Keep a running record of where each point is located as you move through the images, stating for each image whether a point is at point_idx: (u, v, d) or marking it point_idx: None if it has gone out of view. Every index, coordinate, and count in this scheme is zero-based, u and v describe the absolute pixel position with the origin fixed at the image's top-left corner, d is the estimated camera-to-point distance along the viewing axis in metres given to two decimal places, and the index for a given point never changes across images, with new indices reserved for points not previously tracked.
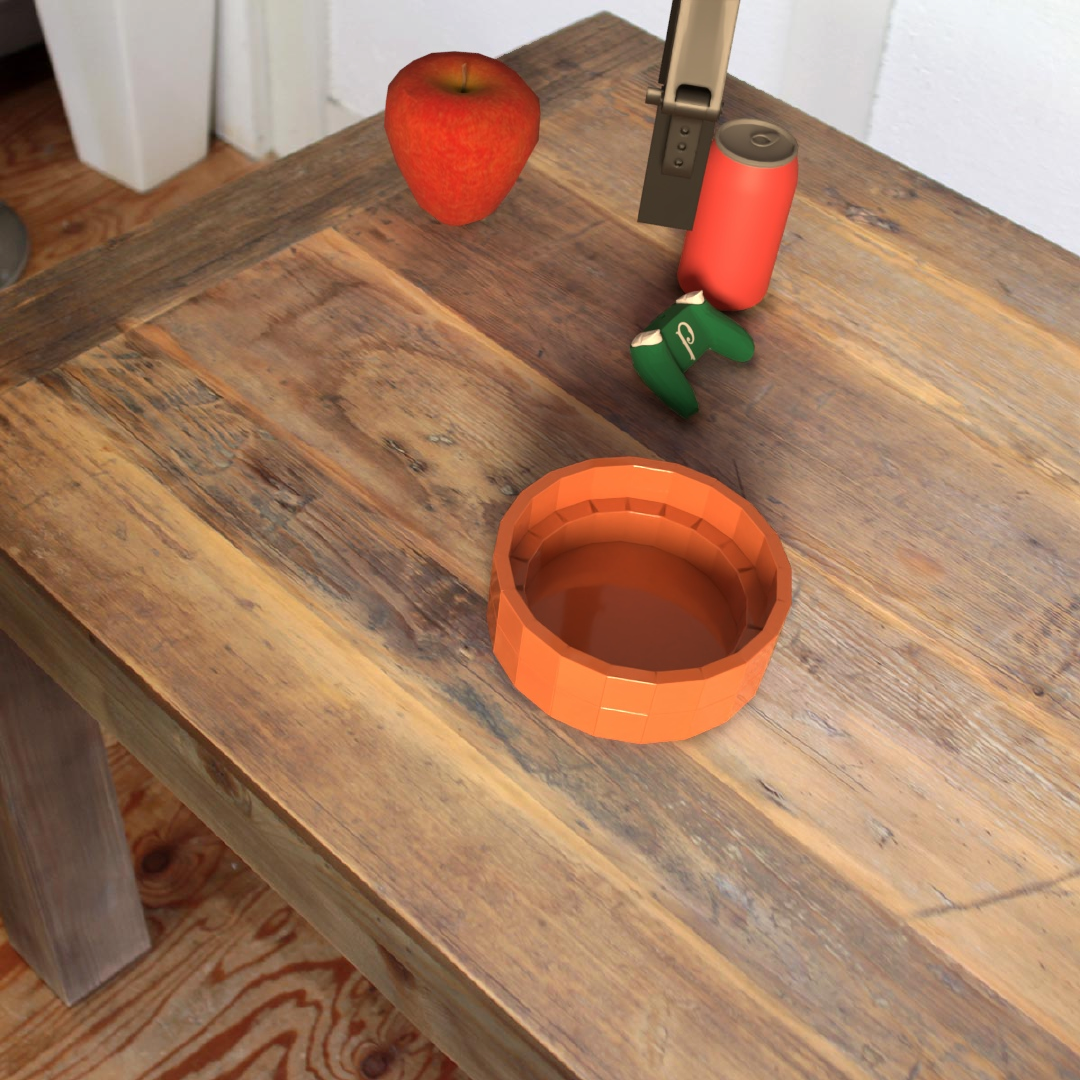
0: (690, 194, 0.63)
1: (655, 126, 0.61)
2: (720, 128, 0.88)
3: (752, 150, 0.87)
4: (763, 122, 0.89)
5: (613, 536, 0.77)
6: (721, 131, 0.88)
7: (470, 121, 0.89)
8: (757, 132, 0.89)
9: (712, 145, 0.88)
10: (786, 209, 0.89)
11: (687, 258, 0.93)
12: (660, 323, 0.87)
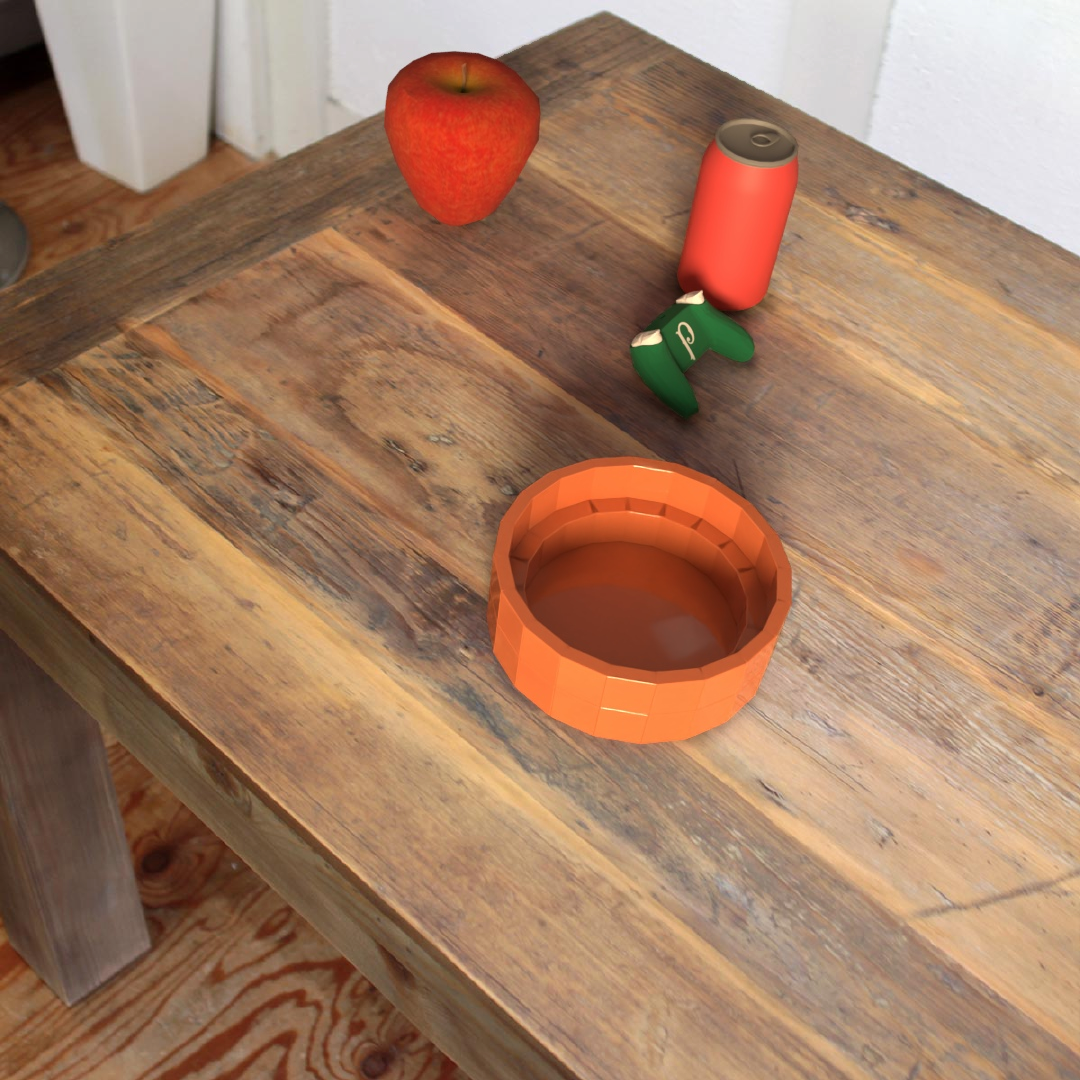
0: None
1: None
2: (720, 128, 0.88)
3: (752, 150, 0.87)
4: (763, 122, 0.89)
5: (613, 536, 0.77)
6: (721, 131, 0.88)
7: (470, 121, 0.89)
8: (757, 132, 0.89)
9: (712, 145, 0.88)
10: (786, 209, 0.89)
11: (687, 258, 0.93)
12: (659, 323, 0.87)
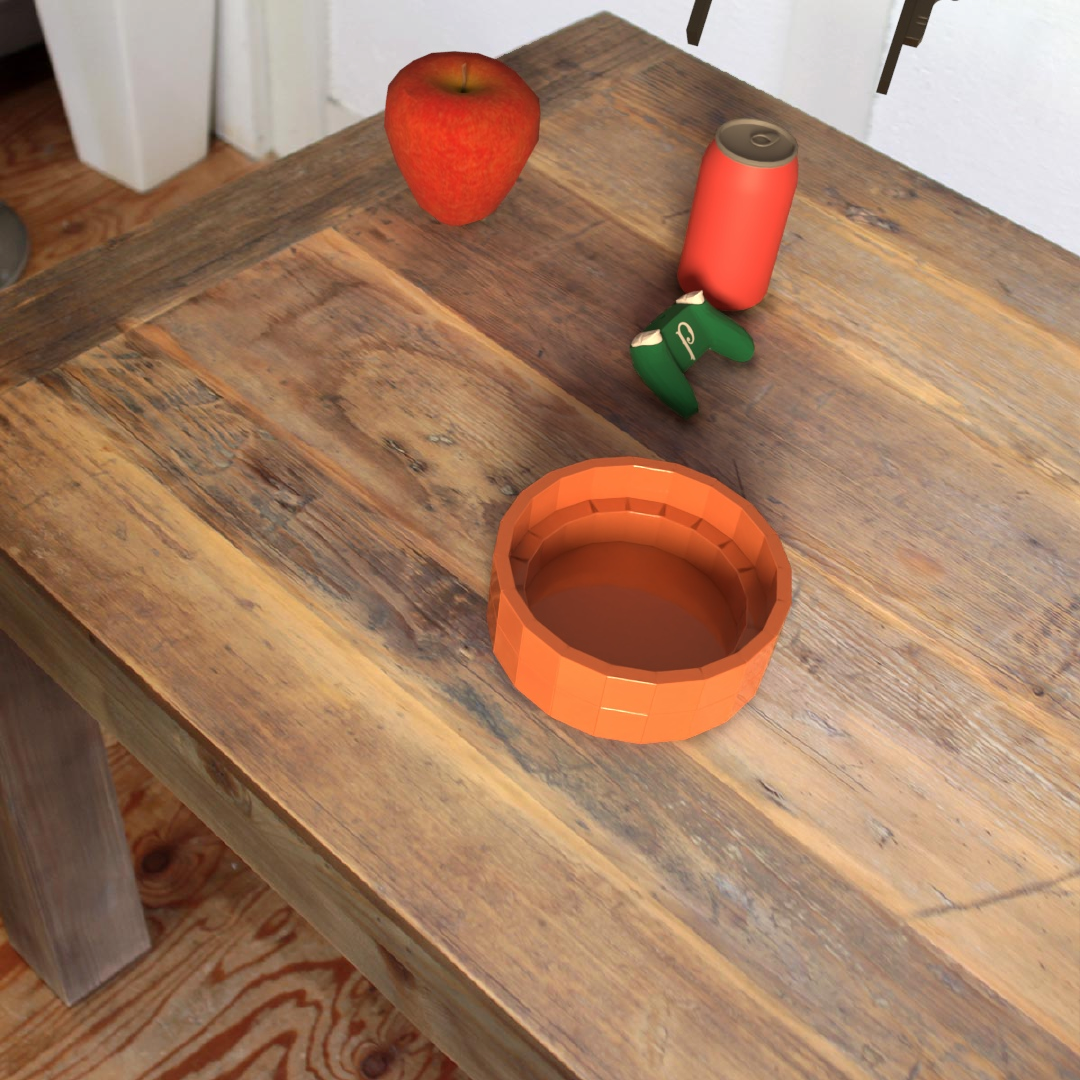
0: None
1: None
2: (720, 128, 0.88)
3: (752, 150, 0.87)
4: (763, 122, 0.89)
5: (613, 536, 0.77)
6: (721, 131, 0.88)
7: (470, 121, 0.89)
8: (757, 132, 0.89)
9: (712, 145, 0.88)
10: (786, 209, 0.89)
11: (687, 258, 0.93)
12: (660, 323, 0.87)
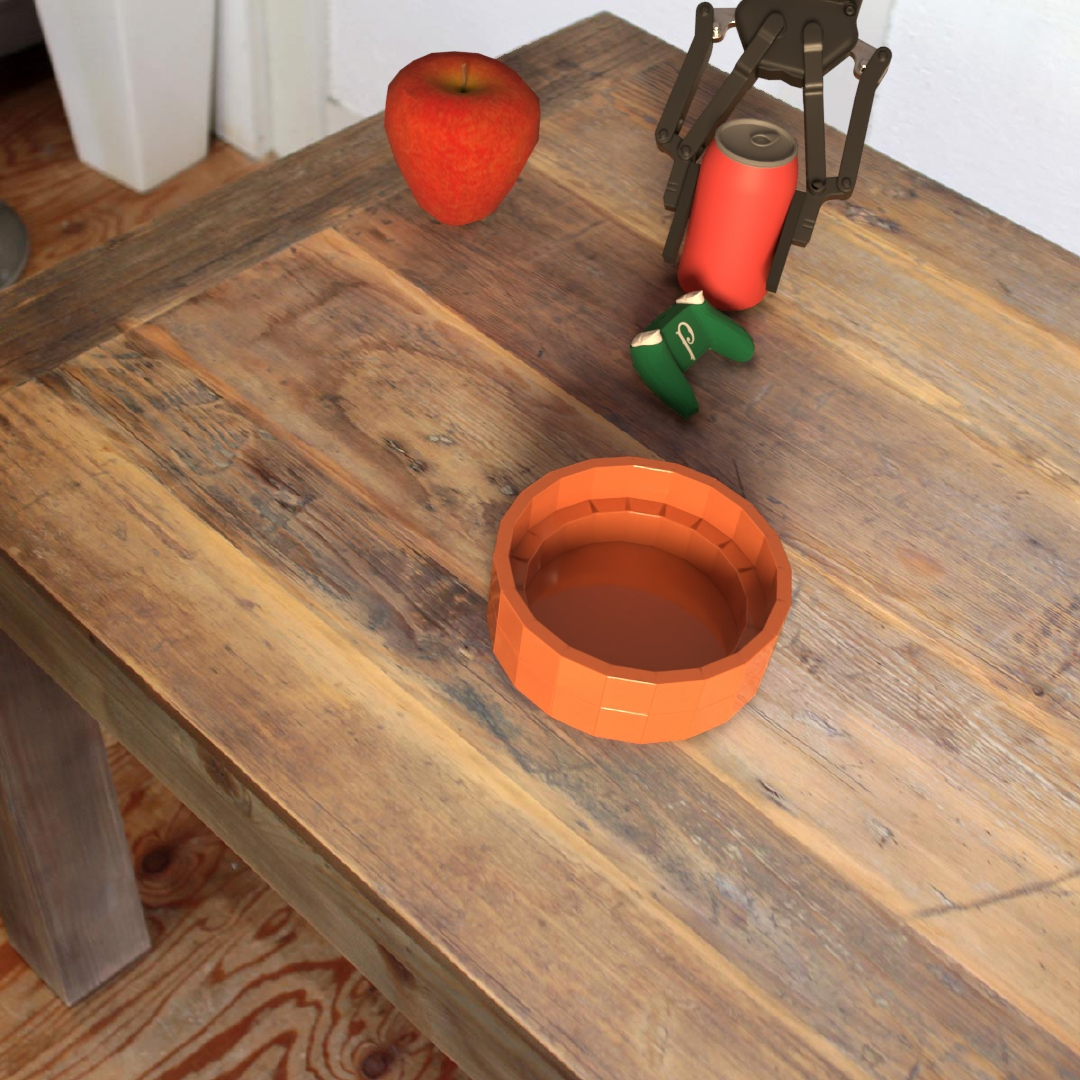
0: None
1: None
2: (719, 128, 0.88)
3: (752, 149, 0.87)
4: (763, 122, 0.89)
5: (613, 536, 0.77)
6: (720, 131, 0.88)
7: (470, 121, 0.89)
8: (757, 132, 0.89)
9: (712, 145, 0.88)
10: (786, 209, 0.89)
11: (687, 258, 0.93)
12: (660, 323, 0.87)
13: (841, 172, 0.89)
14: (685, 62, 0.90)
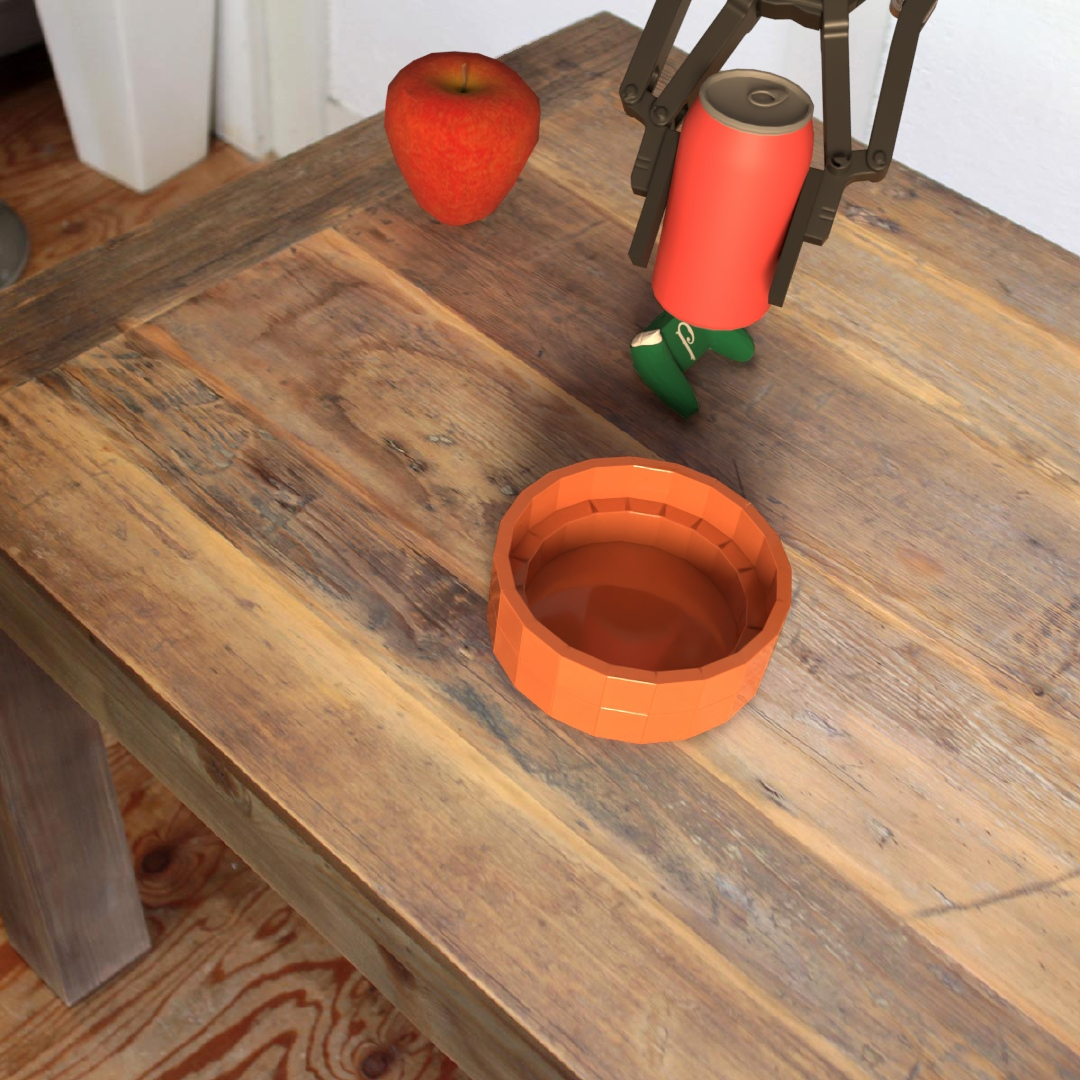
0: None
1: None
2: (706, 82, 0.64)
3: (750, 110, 0.63)
4: (765, 75, 0.65)
5: (613, 536, 0.77)
6: (707, 85, 0.64)
7: (470, 121, 0.89)
8: (758, 88, 0.65)
9: (696, 105, 0.64)
10: (797, 193, 0.65)
11: (664, 259, 0.69)
12: (660, 323, 0.87)
13: (872, 143, 0.65)
14: None
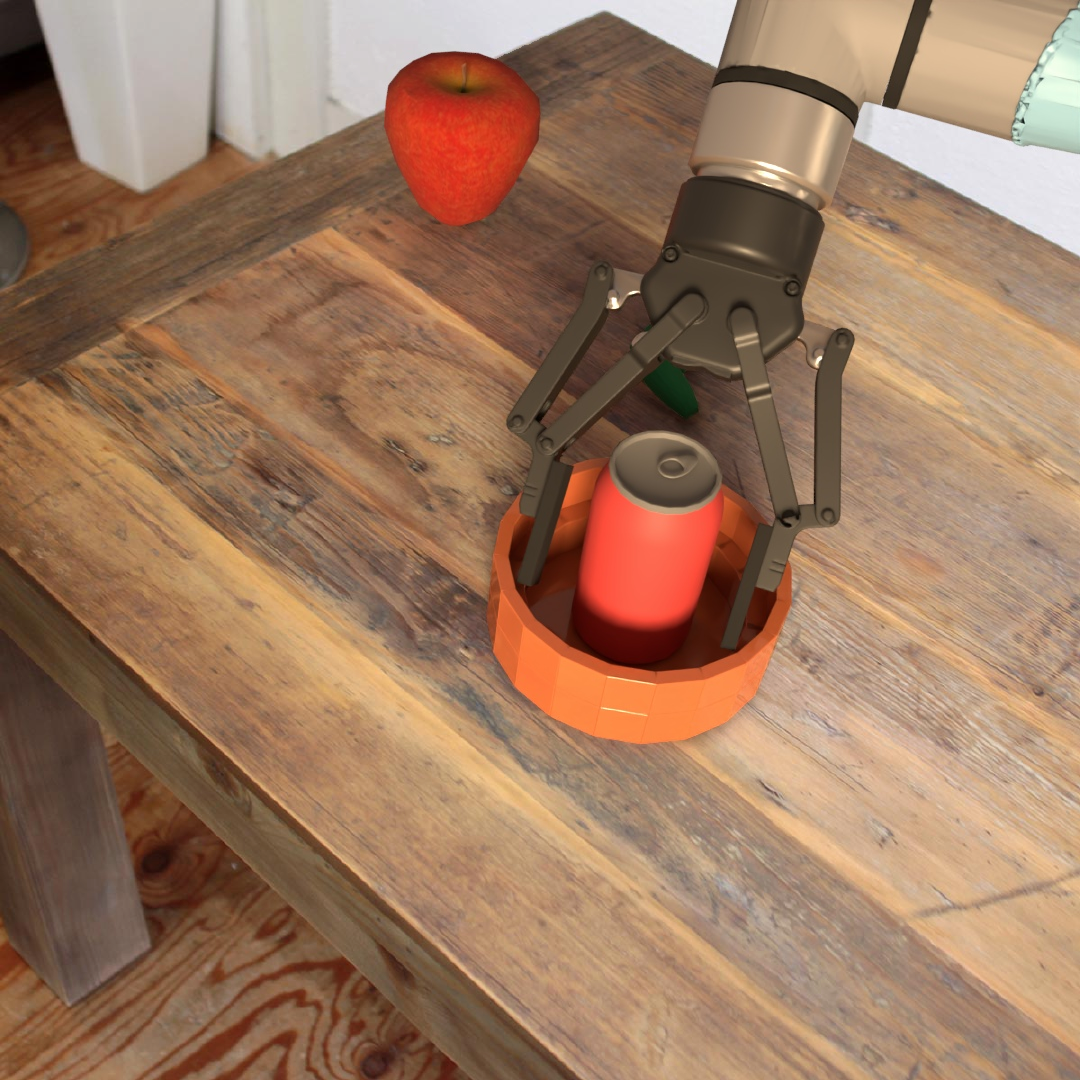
0: None
1: None
2: (616, 451, 0.65)
3: (659, 483, 0.64)
4: (676, 436, 0.66)
5: None
6: (618, 453, 0.65)
7: (470, 121, 0.89)
8: (668, 452, 0.66)
9: (606, 473, 0.65)
10: (707, 553, 0.66)
11: (581, 598, 0.70)
12: None
13: (818, 502, 0.66)
14: (563, 334, 0.68)
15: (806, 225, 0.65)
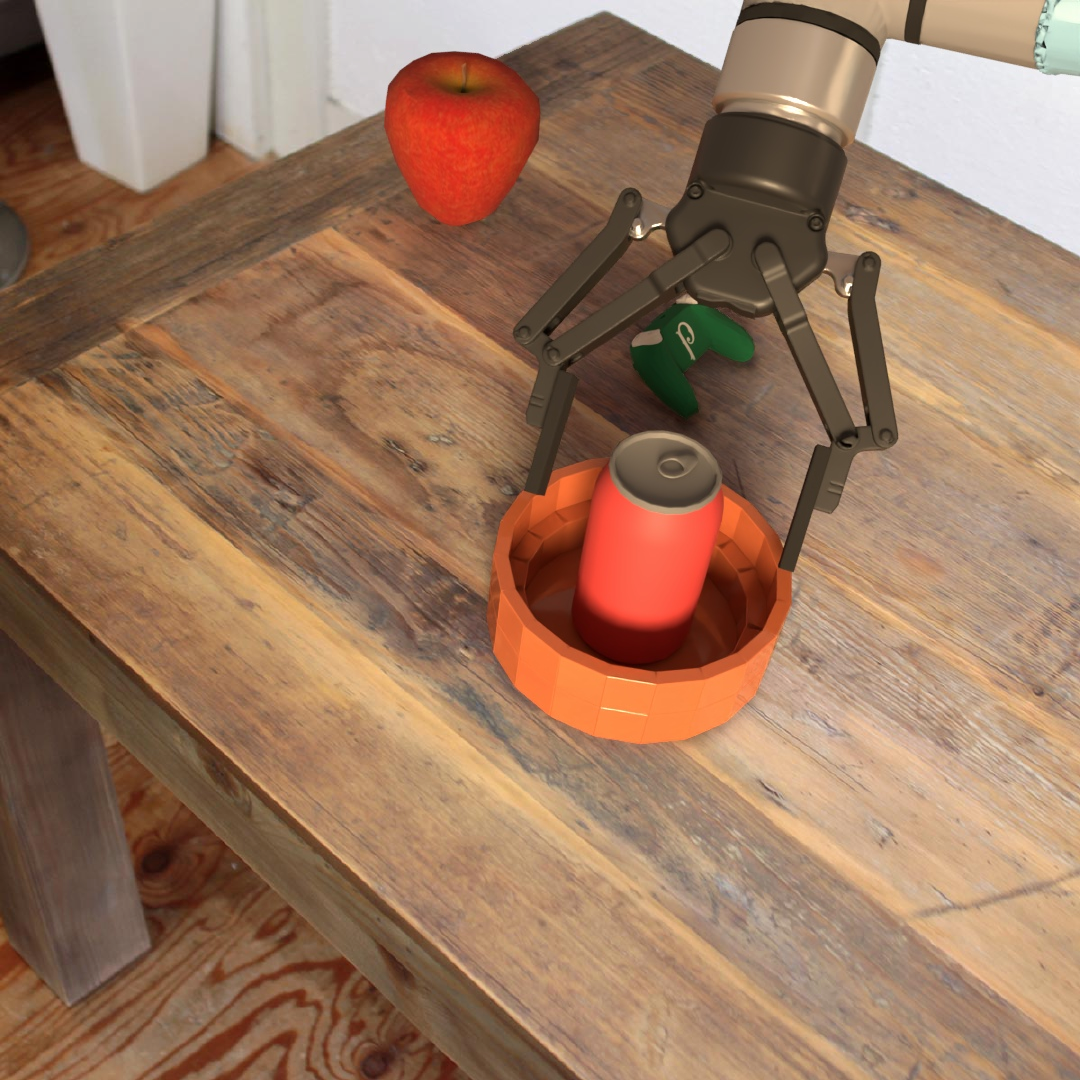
0: None
1: None
2: (616, 451, 0.65)
3: (659, 483, 0.64)
4: (676, 436, 0.66)
5: None
6: (618, 453, 0.65)
7: (470, 121, 0.89)
8: (668, 452, 0.66)
9: (606, 473, 0.65)
10: (707, 553, 0.66)
11: (581, 598, 0.70)
12: (660, 323, 0.87)
13: (874, 425, 0.66)
14: (583, 254, 0.69)
15: (830, 160, 0.66)
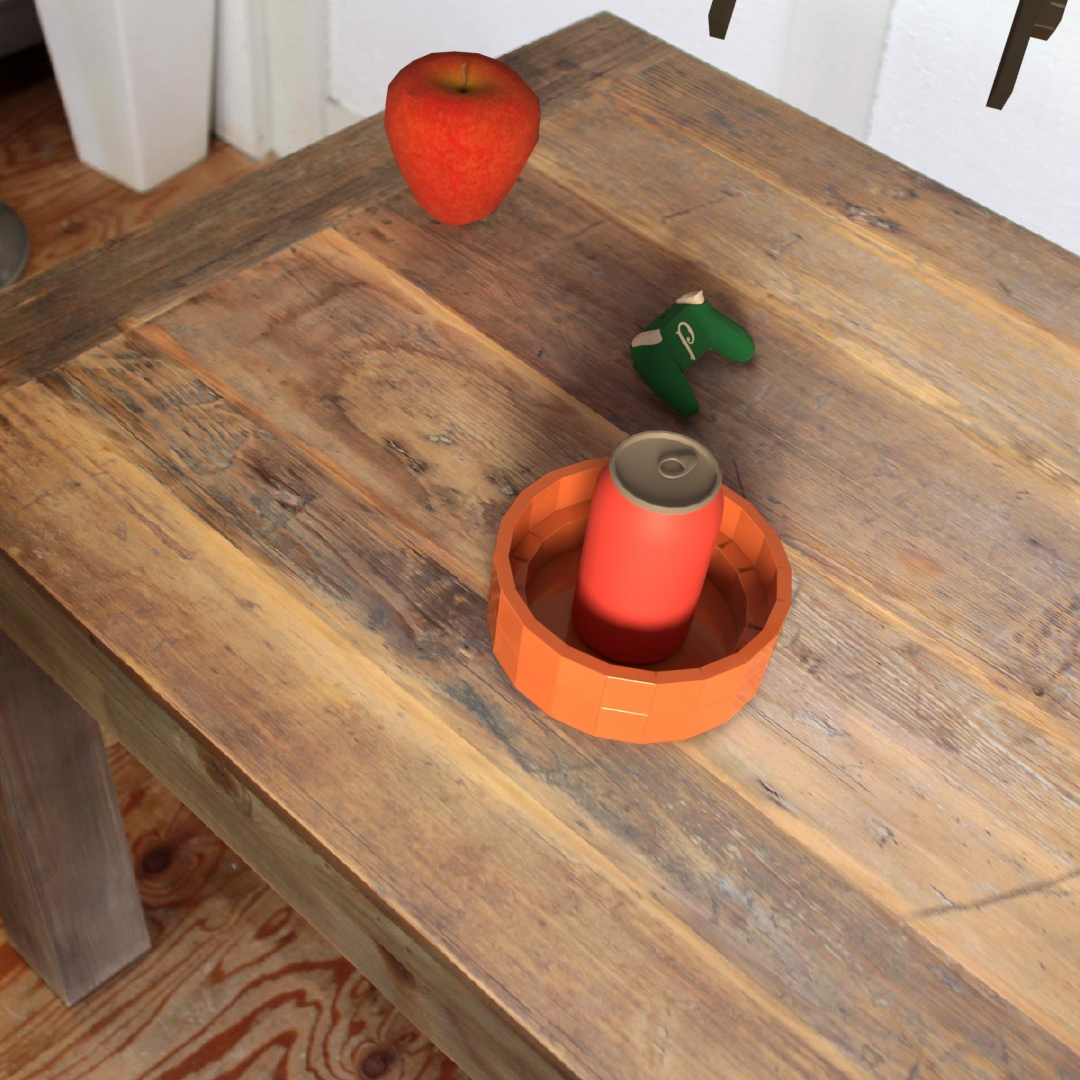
0: None
1: None
2: (616, 451, 0.65)
3: (659, 483, 0.64)
4: (676, 436, 0.66)
5: None
6: (618, 453, 0.65)
7: (470, 121, 0.89)
8: (668, 452, 0.66)
9: (606, 473, 0.65)
10: (707, 553, 0.66)
11: (581, 598, 0.70)
12: (660, 323, 0.87)
13: None
14: None
15: None
